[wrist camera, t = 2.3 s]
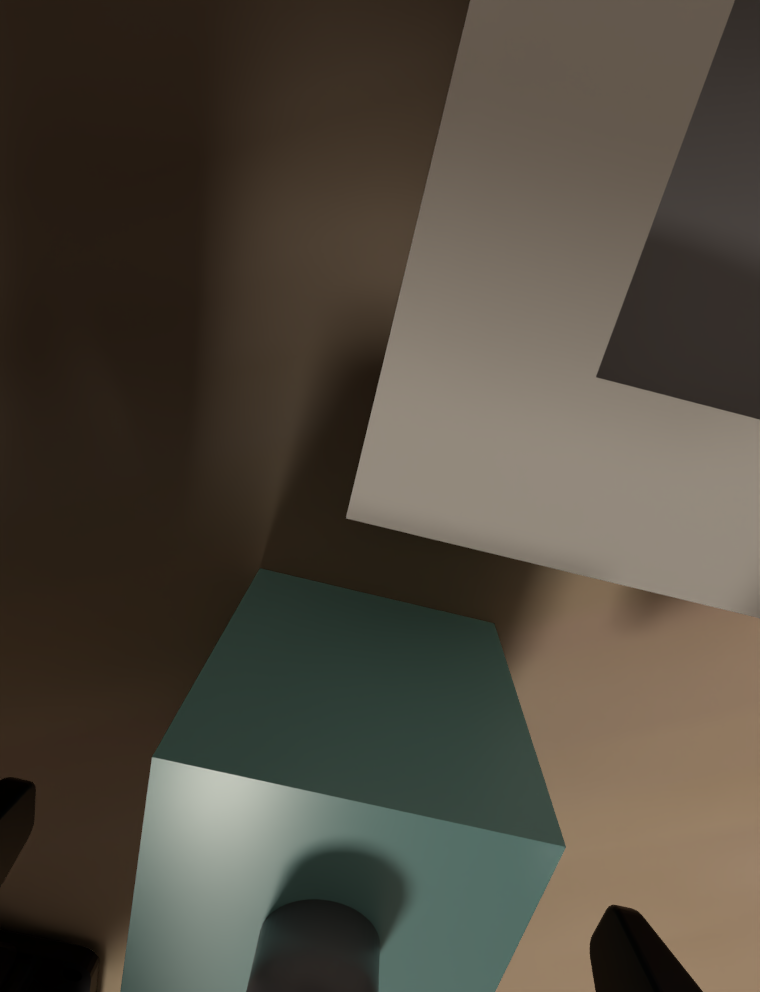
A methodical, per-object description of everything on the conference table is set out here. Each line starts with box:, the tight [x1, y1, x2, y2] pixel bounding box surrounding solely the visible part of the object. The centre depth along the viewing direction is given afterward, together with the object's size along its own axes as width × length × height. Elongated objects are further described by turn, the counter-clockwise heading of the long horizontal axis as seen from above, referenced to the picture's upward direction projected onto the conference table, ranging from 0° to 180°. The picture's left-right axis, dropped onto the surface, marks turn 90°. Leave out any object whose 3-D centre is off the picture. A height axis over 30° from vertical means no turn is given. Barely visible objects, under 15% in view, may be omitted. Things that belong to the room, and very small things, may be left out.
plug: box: [121, 568, 566, 992], centre depth 9 cm, size 5×5×6 cm
